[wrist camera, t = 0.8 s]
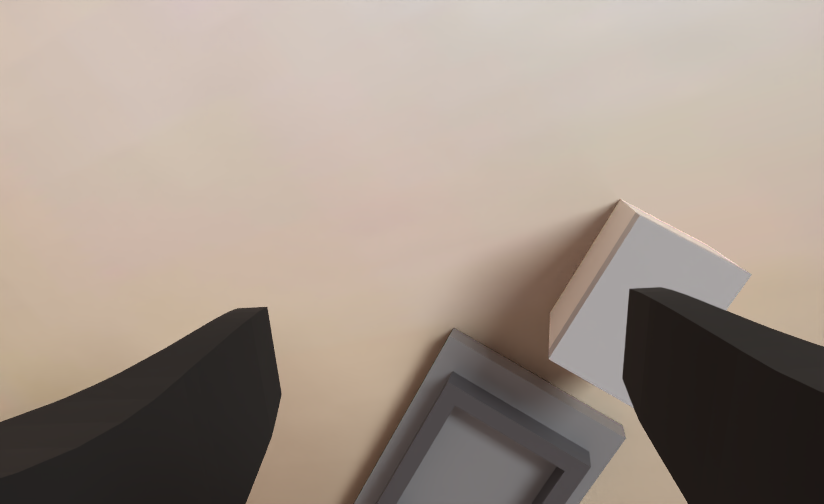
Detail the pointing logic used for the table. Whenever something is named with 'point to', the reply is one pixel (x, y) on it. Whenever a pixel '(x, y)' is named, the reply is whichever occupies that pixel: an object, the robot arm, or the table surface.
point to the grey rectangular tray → (491, 437)
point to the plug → (609, 291)
